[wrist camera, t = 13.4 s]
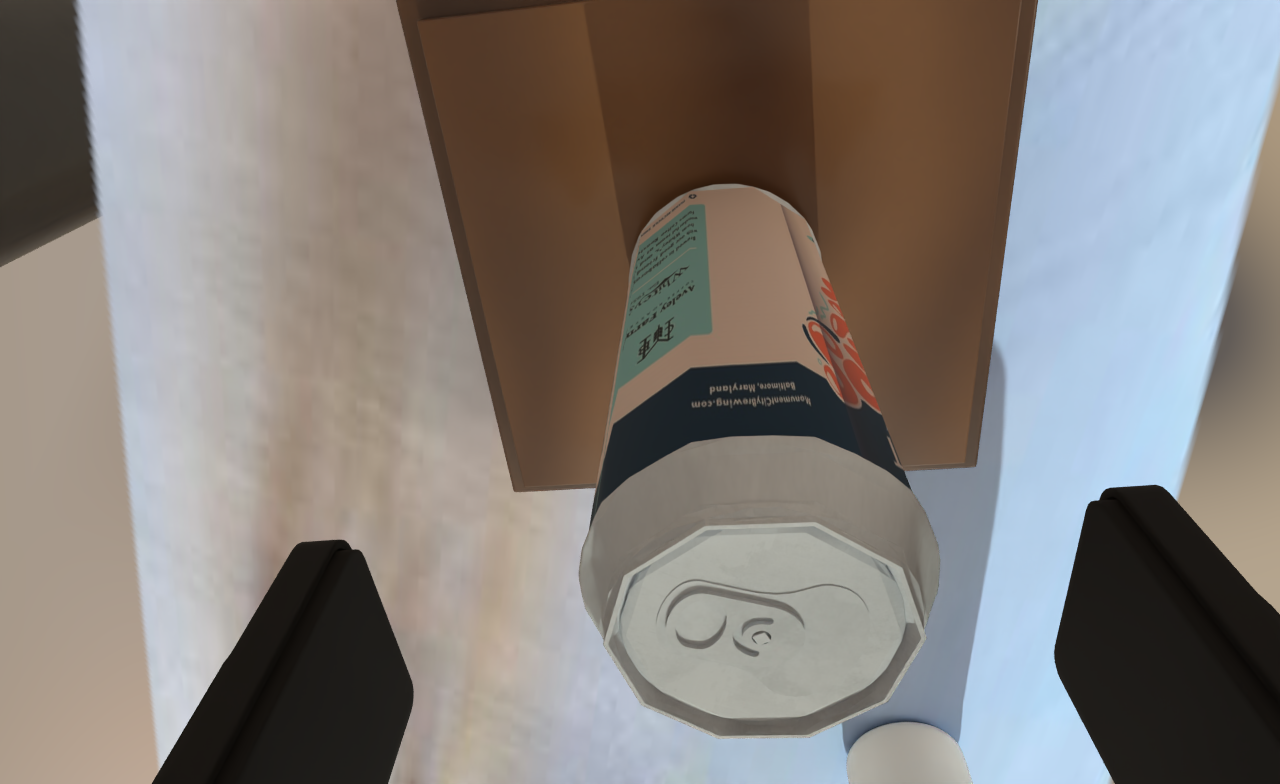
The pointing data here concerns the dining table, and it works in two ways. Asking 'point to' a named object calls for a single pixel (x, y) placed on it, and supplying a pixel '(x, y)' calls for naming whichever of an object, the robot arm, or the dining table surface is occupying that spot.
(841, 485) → the beer can
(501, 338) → the walnut block
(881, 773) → the drinking glass
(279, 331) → the dining table surface
